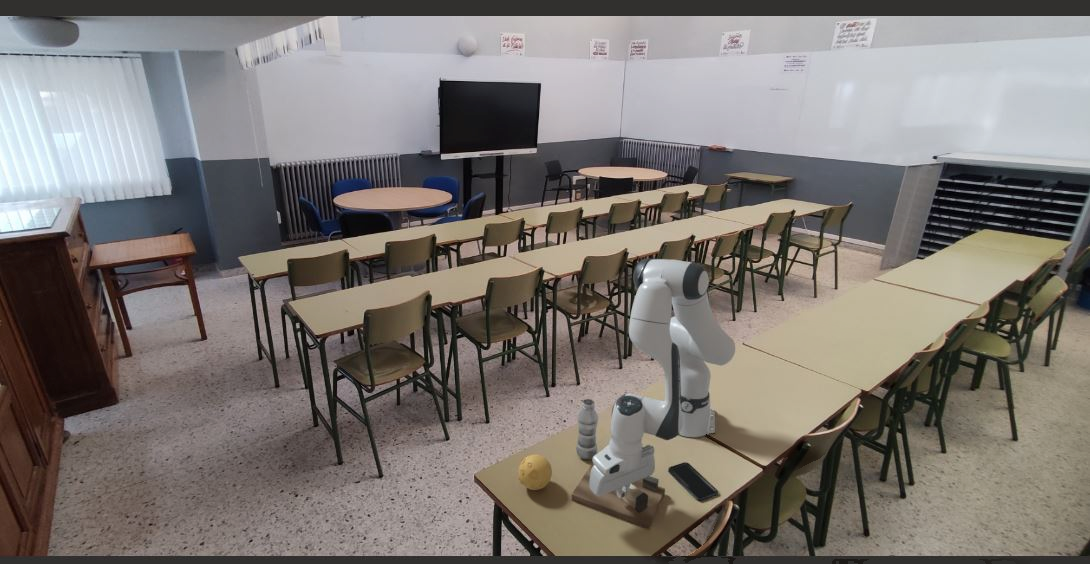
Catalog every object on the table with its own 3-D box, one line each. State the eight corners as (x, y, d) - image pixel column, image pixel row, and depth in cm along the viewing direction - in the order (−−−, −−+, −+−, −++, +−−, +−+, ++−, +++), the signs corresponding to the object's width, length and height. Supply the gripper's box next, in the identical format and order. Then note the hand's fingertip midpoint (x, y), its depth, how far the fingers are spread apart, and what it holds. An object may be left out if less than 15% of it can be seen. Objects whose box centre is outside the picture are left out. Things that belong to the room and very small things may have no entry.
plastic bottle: (595, 463, 165) (598, 409, 158) (574, 460, 166) (576, 406, 159) (597, 450, 171) (600, 397, 164) (577, 447, 172) (579, 395, 165)
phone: (686, 461, 165) (720, 492, 152) (686, 464, 165) (719, 495, 152) (666, 468, 162) (698, 500, 149) (666, 471, 162) (698, 503, 149)
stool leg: (590, 475, 156) (591, 464, 155) (598, 471, 158) (599, 459, 157) (639, 513, 142) (640, 500, 141) (647, 507, 144) (648, 495, 143)
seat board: (591, 468, 162) (592, 455, 161) (664, 494, 152) (666, 480, 151) (571, 499, 150) (571, 485, 148) (649, 529, 140) (650, 514, 138)
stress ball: (545, 476, 160) (522, 454, 160) (563, 465, 154) (539, 442, 154) (530, 502, 152) (505, 478, 152) (548, 491, 146) (522, 466, 146)
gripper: (647, 437, 148) (643, 477, 153) (587, 458, 139) (585, 501, 143) (662, 449, 143) (657, 490, 148) (601, 472, 133) (598, 516, 138)
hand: (621, 495), depth 145 cm, fingers closed
